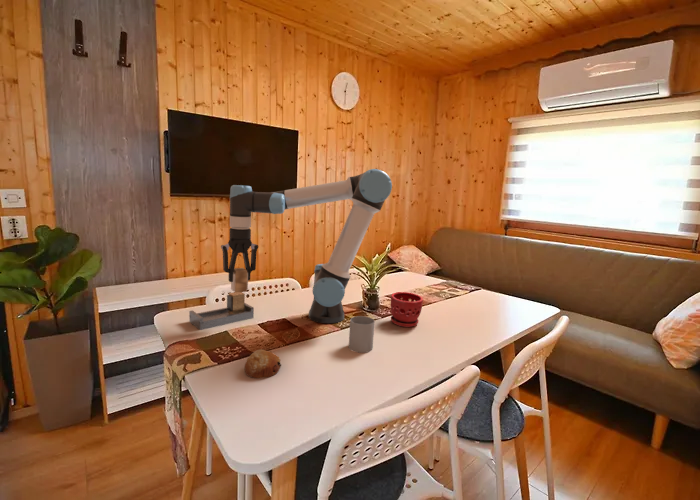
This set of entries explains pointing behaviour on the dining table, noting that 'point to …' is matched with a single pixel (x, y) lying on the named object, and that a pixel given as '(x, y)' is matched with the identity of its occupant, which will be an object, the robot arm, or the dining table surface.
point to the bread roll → (262, 364)
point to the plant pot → (405, 308)
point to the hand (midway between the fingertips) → (239, 289)
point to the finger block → (240, 280)
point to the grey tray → (224, 313)
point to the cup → (361, 334)
